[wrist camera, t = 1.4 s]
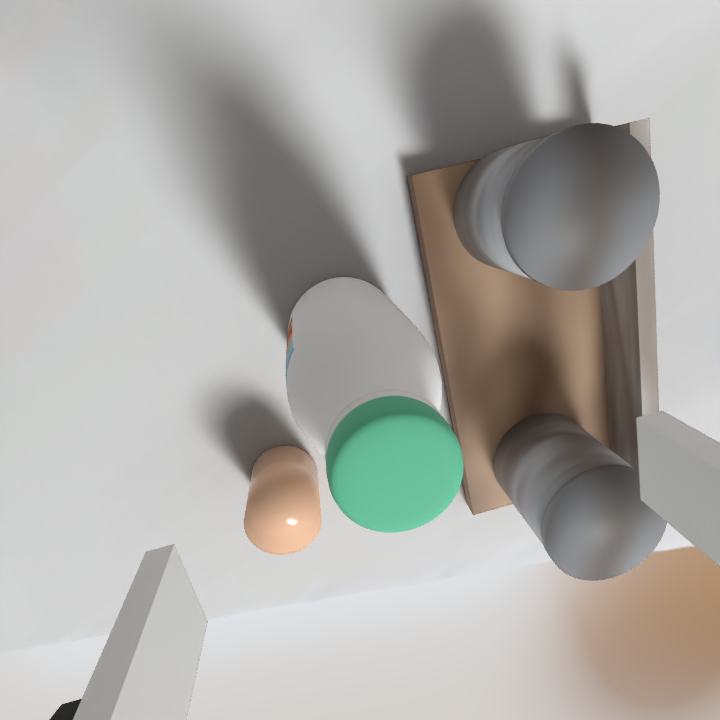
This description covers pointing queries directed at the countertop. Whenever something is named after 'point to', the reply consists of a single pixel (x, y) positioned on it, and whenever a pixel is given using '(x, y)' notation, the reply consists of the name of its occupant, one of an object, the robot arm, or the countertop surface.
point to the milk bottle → (371, 405)
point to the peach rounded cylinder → (283, 501)
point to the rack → (550, 333)
